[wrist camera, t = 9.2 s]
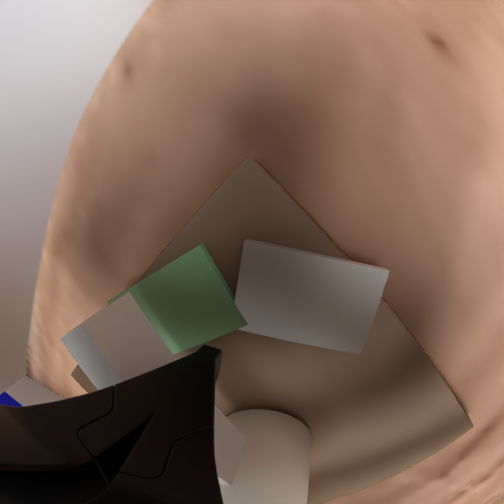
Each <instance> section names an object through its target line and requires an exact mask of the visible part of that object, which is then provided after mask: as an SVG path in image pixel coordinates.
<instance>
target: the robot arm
mask: <svg viewBox="0 0 504 504" xmlns="http://www.w3.org/2000/svg"><path fill="white" fill-rule="evenodd" d="M222 354H223V352H222V350H221V349H218V348H215V347H212V346H208V345H202V346H201V347H200V348H199V349H198V350H197V351H196V352H194V353H192V354H189V355H187V356H185V357H182V358H180V359H178V360H175V361H173V362H171V363H168V364H166V365H163V366H161V367H159V368H156V369H154V370H151V371H149V372H146V373H144V374H141V375H138V376H136V377H133V378H131V379H128V380H125V381H123V382H120V383H117V384H115V387H114V386H113V385H112V386H109V387H106V388H103V389H100V390H97V391H94V392H91V393H88V394H85V395H81V396H76V397H72V398H68V399H63V400H58V401H53V402H48V403H42V404H36V405H30V406H21V407H16V406H7V405H3V404H0V504H224V503H223V498H222V494H221V489H220V484H219V480H218V474H217V468H216V461H215V447H214V418H215V384H216V381H217V379H218V376H219V373H220V367H221V361H222Z"/></svg>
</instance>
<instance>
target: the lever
mask: <svg viewBox="0 0 504 504" xmlns="http://www.w3.org/2000/svg"><path fill="white" fill-rule="evenodd" d="M61 340H62V341H63V343H64V345H65V346H66V348H67V349H68V350H69V352H70V353H71V355H72V356H73V358H74V359H75V361H76V362H77V363H78V365H79V366H80V367H81V369H82V370H83V372H84V373H85V374H86V375H87V377H88V378H89V379H90V381H91V382H92V383H93V384H94V386H95V387H96V388H97V389H98V390H100V389H103V388H106V387H109V386H112V385H113V386H114V387H115V384H117V383H120V382H123V381H125V380H128V379H131V378H133V377H136V376H138V375H141V374H144V373H146V372H149V371H151V370H154V369H156V368H159V367H161V366H163V365H166V364H168V363H171V362H173V361H175V360H177V358H176V357H175V356H174V354H173V353H172V352H171V350H170V349H169V348H168V346H167V345H166V344H165V342H164V341H163V340H162V338H161V337H160V336H159V334H158V333H157V331H156V330H155V329H154V327H153V326H152V324H151V323H150V321H149V320H148V319H147V317H146V316H145V314H144V313H143V311H142V310H141V308H140V307H139V305H138V304H137V302H136V301H135V299H134V298H133V296H132V294H131V293H130V291H129V292H128V293H126V294H125V295H123V296H122V297H120V298H119V299H117V300H115V301H114V302H112V303H111V304H109V305H108V306H106V307H105V308H103V309H102V310H100V311H99V312H98V313H96V314H95V315H93V316H92V317H90V318H89V319H87V320H86V321H84V322H83V323H81V324H80V325H79V326H77V327H76V328H74V329H73V330H72V331H70V332H69V333H68V334H66V335H65V336H64V337H62V338H61ZM311 443H312V436H311V433H310V431H309V429H308V428H307V427H306V426H305V425H304V424H303V423H302V422H301V421H299V420H298V419H296V418H294V417H292V416H290V415H287V414H284V413H281V412H277V411H272V410H263V409H251V410H244V411H239V412H236V413H233V414H231V415H229V416H228V417H226V416H225V415H224V414H223V413H222V412H221V411H220V410H219V409H218V408H217V406H216V405H215V418H214V447H215V461H216V468H217V474H218V480H219V484H220V489H221V494H222V498H223V503H224V504H307V497H308V486H309V474H310V460H311Z"/></svg>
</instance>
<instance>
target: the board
mask: <svg viewBox="0 0 504 504" xmlns="http://www.w3.org/2000/svg"><path fill="white" fill-rule="evenodd" d="M389 272H390V271H389V270H388V269H387V268H382V267H377V266H373V265H368V264H364V263H359V262H355V261H351V260H350V259H349V258H348V257H347V255H346V254H345V253H344V252H343V251H342V250H341V249H340V248H339V246H338V245H337V244H336V243H335V242H334V241H333V240H332V239H331V238H330V236H329V235H328V234H327V233H326V232H325V231H324V230H323V229H322V228H321V227H320V226H319V225H318V223H317V222H316V221H315V220H314V219H313V218H312V217H311V216H310V215H309V214H308V213H307V212H306V211H305V210H304V209H303V208H302V207H301V206H300V205H299V203H298V202H297V201H296V200H295V199H294V198H293V197H292V196H291V195H290V194H289V193H288V192H287V191H286V190H285V189H284V188H283V187H282V186H281V185H280V184H279V183H278V182H277V181H276V180H275V179H274V178H273V177H272V176H271V175H270V174H269V173H268V172H267V171H266V170H265V169H264V168H263V167H262V166H261V165H260V164H258V163H257V162H256V161H255V160H254V159H252V158H250V157H247V158H246V159H245V160H244V161H243V162H242V163H241V164H240V165H239V166H238V168H237V169H236V170H235V171H234V172H233V173H232V174H231V175H230V176H229V177H228V178H227V179H226V180H225V181H224V182H223V183H222V184H221V186H220V187H219V188H218V189H217V190H216V191H215V192H214V193H213V194H212V195H211V196H210V198H209V199H208V200H207V201H206V202H205V203H204V204H203V205H202V206H201V207H200V209H199V210H198V211H197V212H196V213H195V214H194V215H193V217H192V218H191V219H190V220H189V221H188V222H187V223H186V225H185V226H184V227H183V228H182V229H181V230H180V231H179V233H178V234H177V235H176V236H175V237H174V238H173V240H172V241H171V242H170V243H169V244H168V246H167V247H166V248H165V249H164V250H163V252H162V253H161V254H160V255H159V256H158V258H157V259H156V260H155V261H154V263H153V264H152V265H151V266H150V267H149V269H148V270H147V271H146V272H145V274H144V275H143V276H142V277H141V279H140V280H139V281H138V283H137V284H135V285H134V286H132V287H131V288H129V289H127V290H126V291H124V292H123V293H121V294H120V295H118V296H116V297H115V298H113V299H112V300H110V301H109V302H108V304H111V303H112V302H114V301H115V300H117V299H119V298H120V297H122V296H123V295H125V294H126V293H128V292H129V291H130V293H131V294H132V296H133V298H134V299H135V301H136V302H137V304H138V305H139V307H140V308H141V310H142V311H143V313H144V314H145V316H146V317H147V319H148V320H149V321H150V323H151V324H152V326H153V327H154V329H155V330H156V331H157V333H158V334H159V336H160V337H161V338H162V340H163V341H164V342H165V344H166V345H167V346H168V348H169V349H170V350H171V352H172V353H173V354H174V356H175V357H176V358H177V360H178V359H180V358H182V357H185V356H187V355H189V354H192V353H194V352H196V351H197V350H198V349H199V348H200V347H201V346H202V345H208V346H212V347H215V348H218V349H221V350H222V352H223V354H222V361H221V367H220V373H219V376H218V379H217V381H216V384H215V405H216V406H217V408H218V409H219V410H220V411H221V412H222V413H223V414H224V415H225V416H226V417H228V416H229V415H231V414H233V413H236V412H239V411H244V410H251V409H263V410H272V411H277V412H281V413H284V414H287V415H290V416H292V417H294V418H296V419H298V420H299V421H301V422H302V423H303V424H304V425H305V426H306V427H307V428H308V429H309V431H310V433H311V436H312V443H311V460H310V474H309V486H308V497H307V504H321V503H324V502H328V501H331V500H334V499H337V498H340V497H343V496H346V495H349V494H351V493H354V492H357V491H359V490H362V489H364V488H367V487H369V486H372V485H374V484H376V483H379V482H381V481H383V480H385V479H387V478H390V477H392V476H394V475H396V474H398V473H400V472H402V471H404V470H406V469H408V468H410V467H412V466H413V465H415V464H417V463H419V462H421V461H422V460H424V459H426V458H428V457H429V456H431V455H433V454H434V453H436V452H438V451H439V450H441V449H442V448H444V447H445V446H447V445H448V444H450V443H451V442H453V441H454V440H456V439H457V438H459V437H460V436H462V435H463V434H464V433H466V432H467V431H468V430H470V429H471V428H472V427H474V426H473V424H472V422H471V420H470V418H469V416H468V414H467V413H466V411H465V409H464V408H463V406H462V405H461V403H460V402H459V400H458V399H457V397H456V396H455V394H454V393H453V391H452V390H451V388H450V387H449V385H448V384H447V382H446V381H445V379H444V378H443V377H442V375H441V374H440V372H439V371H438V369H437V368H436V367H435V365H434V364H433V362H432V361H431V360H430V358H429V357H428V356H427V354H426V353H425V352H424V350H423V349H422V347H421V346H420V345H419V343H418V342H417V341H416V339H415V338H414V337H413V336H412V334H411V333H410V332H409V330H408V329H407V328H406V326H405V325H404V324H403V323H402V321H401V320H400V319H399V318H398V316H397V315H396V314H395V312H394V311H393V310H392V309H391V307H390V306H389V305H388V304H387V303H386V301H385V300H384V299H383V298H382V294H383V291H384V288H385V285H386V282H387V278H388V275H389ZM71 375H72V376H73V378H74V379H75V380H76V381H77V382H78V383H79V384H80V385H81V386H82V387H83V388H84V389H85V390H86V391H87V392H88V393H91V392H94V391H97V390H98V389H97V388H96V387H95V386H94V384H93V383H92V382H91V381H90V379H89V378H88V377H87V375H86V374H85V373H84V372H83V370H82V369H81V367H80V366H79V365H77V366H76V368H75V369H74V371H73V372H72V374H71Z"/></svg>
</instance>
